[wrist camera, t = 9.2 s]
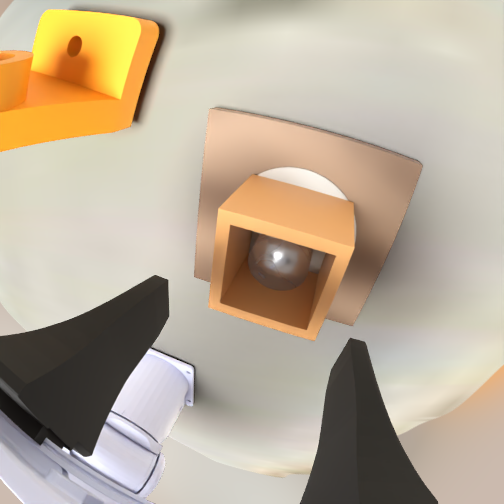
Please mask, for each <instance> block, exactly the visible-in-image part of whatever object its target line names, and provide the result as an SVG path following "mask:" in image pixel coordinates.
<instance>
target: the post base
mask: <svg viewBox="0 0 504 504" xmlns="http://www.w3.org/2000/svg"><path fill="white" fill-rule="evenodd" d="M422 167H423V166H422V164H421V163H420V162H419V161H417V160H414V159H411V158H409V157H406V156H403V155H401V154H398V153H395V152H392V151H390V150H387V149H384V148H381V147H378V146H375V145H372V144H369V143H366V142H363V141H360V140H356V139H353V138H350V137H346V136H343V135H340V134H336V133H333V132H329V131H325V130H322V129H318V128H314V127H310V126H306V125H302V124H298V123H294V122H290V121H285V120H281V119H276V118H272V117H267V116H262V115H257V114H252V113H247V112H241V111H235V110H230V109H223V108H217V107H216V108H211V109H209V114H208V122H207V131H206V139H205V148H204V157H203V167H202V177H201V188H200V199H199V211H198V224H197V238H196V253H195V270H194V277H196V278H199V279H202V280H205V281H208V282H211V273H212V263H213V253H214V244H215V235H216V226H217V217H218V208H219V207H220V206H221V205H222V204H223V203H224V202H225V201H226V200H227V199H228V198H229V197H230V196H231V195H232V194H233V193H234V192H235V191H236V190H237V189H238V188H239V187H240V186H241V185H242V184H243V183H244V182H245V181H246V180H247V179H248V178H249V177H250V176H251V175H252V174H254V175H258V176H262V177H266V178H270V179H274V180H278V181H281V182H285V183H289V184H293V185H296V186H300V187H303V188H307V189H310V190H314V191H317V192H321V193H324V194H328V195H331V196H334V197H338V198H341V199H344V200H347V201H351V202H354V241H355V248H354V251H353V253H352V256H351V258H350V261H349V263H348V266H347V268H346V271H345V273H344V276H343V278H342V280H341V283H340V285H339V287H338V290H337V292H336V294H335V297H334V299H333V301H332V304H331V306H330V308H329V310H328V313H327V315H326V317H325V318H326V319H329V320H333V321H336V322H340V323H343V324H347V325H350V326H353V324H354V322H355V320H356V318H357V317H358V315H359V313H360V311H361V309H362V307H363V305H364V303H365V301H366V299H367V297H368V295H369V293H370V291H371V289H372V287H373V285H374V283H375V281H376V279H377V277H378V275H379V273H380V271H381V268H382V266H383V264H384V262H385V260H386V258H387V255H388V253H389V251H390V249H391V246H392V244H393V242H394V239H395V237H396V235H397V232H398V230H399V228H400V225H401V223H402V220H403V218H404V215H405V213H406V210H407V208H408V205H409V203H410V200H411V197H412V195H413V192H414V189H415V187H416V184H417V181H418V178H419V175H420V173H421V170H422ZM259 235H260V233H258V232H254V231H252V237H251V242H250V248H249V253H250V251H251V249H252V247H253V245H254V244H255V242H256V240H257V238H258V237H259ZM324 256H325V252H322V251H319V250H315V249H313V254H312V258H311V262H310V266H309V271H310V272H313V273H316V274H318V273H319V271H320V268H321V265H322V262H323V259H324Z"/></svg>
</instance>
